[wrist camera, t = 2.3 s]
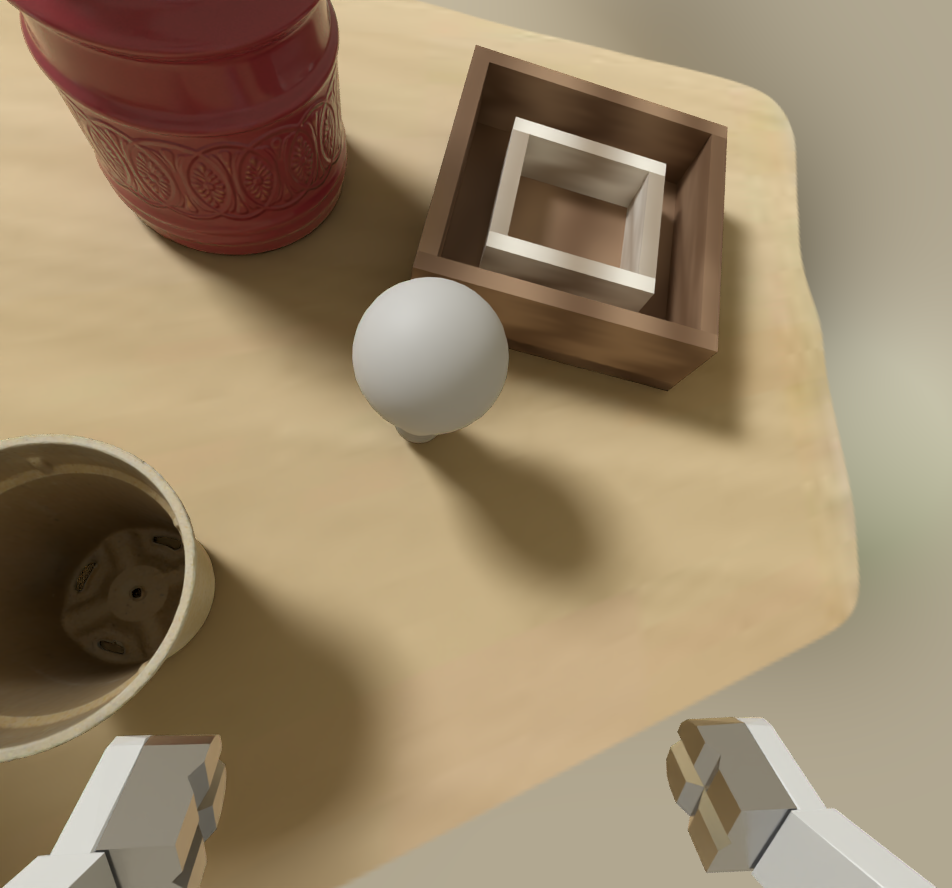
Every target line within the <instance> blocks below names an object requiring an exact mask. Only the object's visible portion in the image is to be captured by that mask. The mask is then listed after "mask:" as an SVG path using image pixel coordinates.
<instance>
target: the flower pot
mask: <svg viewBox="0 0 952 888" xmlns="http://www.w3.org/2000/svg"><path fill="white" fill-rule="evenodd" d="M154 537H168V538H172V539H176V540H179V541H181V542H182V543H181V547H180V548H179V549H176V550H174V549H172V548H170V547H168V546H166V545H163V544H158V543H155V542H154V541H153V540H154ZM92 562H94V563H95V567H94V568H93V570H92V571H91V573H90V575H89V577H88V578H87V580H86V582H85V584H84V586H83V589H82V590H81V591H78V590H76V586H77V579H78V577H79V576H80V574H81V572H82V570H83V569H84V568H85V567H86V566H87V565H88V564H90V563H92ZM136 588H140V589H141V596H140V597H138V598H134V597H133V596H132V592H133V590H134V589H136ZM214 592H215V576H214V571H213V567H212V563H211V560H210V558H209V556H208V554H207V552H206V551H205V549H204V548H203V546H202V545H201V544H200V543H199V542H198V541H197V540H196V539H195V535H194V531H193V527H192V524H191V521H190V518H189V516H188V514H187V511H186V509H185V507H184V506H183V504H182V502H181V500H180V499H179V497H178V496H177V494H176V493H175V491H174V490H173V489H172V488H171V486H170V485H169V484H168V483H167V482H166V480H165V479H164V478H163V477H162V476H161V475H160V474H159V473H158V472H157V471H156V470H155V469H154V468H152V467H151V466H150V465H148V464H147V463H146V462H144V461H142V460H141V459H139V458H138V457H136V456H135V455H133V454H131V453H129V452H126V451H124V450H122V449H120V448H118V447H116V446H113V445H110V444H107V443H104V442H101V441H97V440H94V439H90V438H85V437H79V436H73V435H59V434H47V435H26V436H22V437H16V438H8V439H5V440H0V763H2V762H9V761H12V760H15V759H21V758H25V757H28V756H31V755H35V754H38V753H41V752H44V751H47V750H50V749H52V748H54V747H57V746H59V745H62V744H64V743H66V742H68V741H70V740H72V739H74V738H76V737H78V736H80V735H82V734H84V733H86V732H87V731H89V730H90V729H92V728H94V727H95V726H97V725H98V724H100V723H101V722H103V721H104V720H106V719H107V718H109V717H110V716H111V715H113V714H114V713H115V712H116V711H118V710H119V709H120V708H121V707H122V706H124V705H125V704H126V703H127V702H128V701H129V700H130V699H132V698H133V697H134V696H135V695H136V694H137V693H138V692H139V691H140V690H141V689H142V688H143V687H144V686H145V685H146V684H147V683H148V681H149V680H150V679H151V678H152V677H153V676H154V675H155V674H156V672H157V671H158V669H159V668H160V667H161V665H162V664H163V663H164V661H165V660H166V659H167V658H169V657H171V656H172V655H174V654H175V653H176V652H178V651H179V650H180V649H182V648H183V647H184V646H185V645H186V644H187V643H188V642H189V641H190V640H191V639H192V638H193V637H194V636H195V635H196V633H197V632H198V631H199V630H200V628H201V627H202V625H203V623H204V622H205V620H206V618H207V616H208V614H209V612H210V609H211V606H212V602H213V599H214ZM101 640H104V641H106V642H110V643H113V642H114V641H117V642H116V644H117V645H118V646H121V647H124V653H123V654H121V653H115V652H112V651H108V650H105V649H103V648H102V647H101V646H100V641H101Z"/></svg>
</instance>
